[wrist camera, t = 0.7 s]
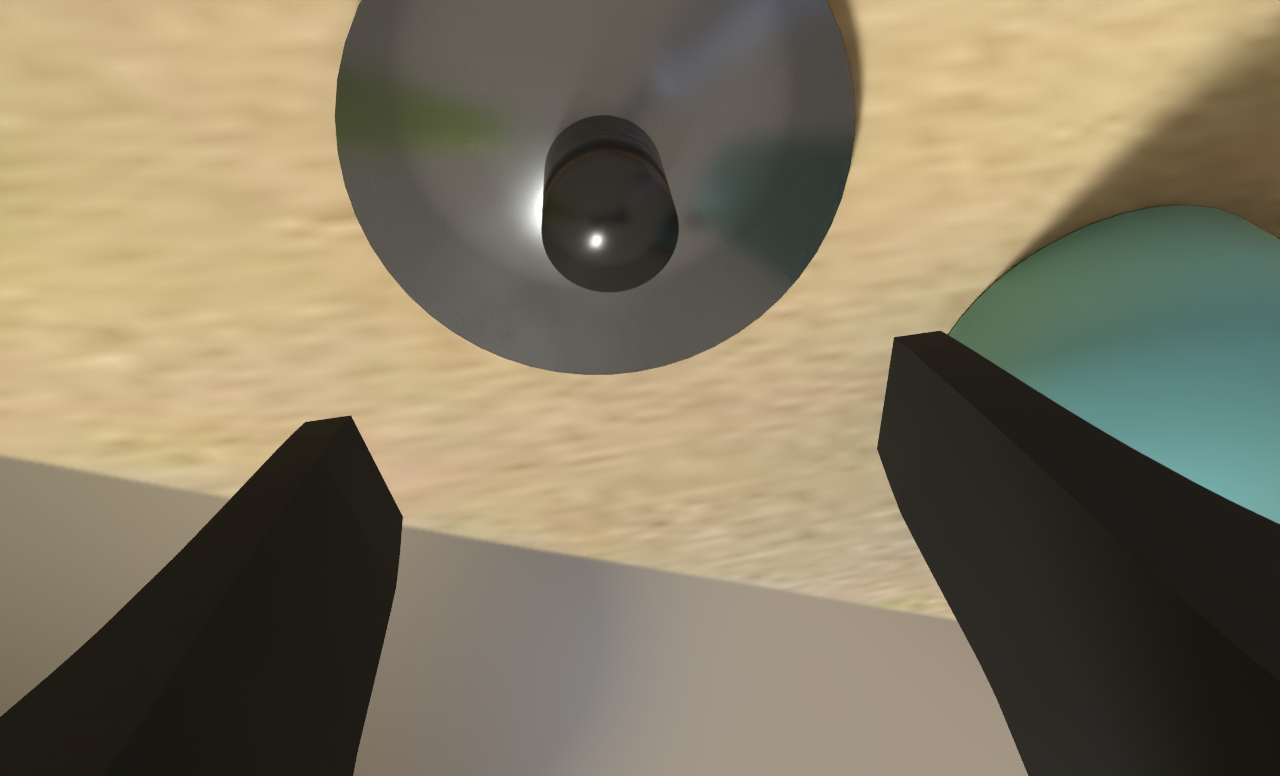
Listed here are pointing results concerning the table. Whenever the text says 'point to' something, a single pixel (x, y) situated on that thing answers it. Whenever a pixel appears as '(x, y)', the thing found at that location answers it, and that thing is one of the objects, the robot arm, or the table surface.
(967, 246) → the table surface
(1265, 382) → the pot
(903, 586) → the table surface
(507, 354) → the lid
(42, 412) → the table surface
